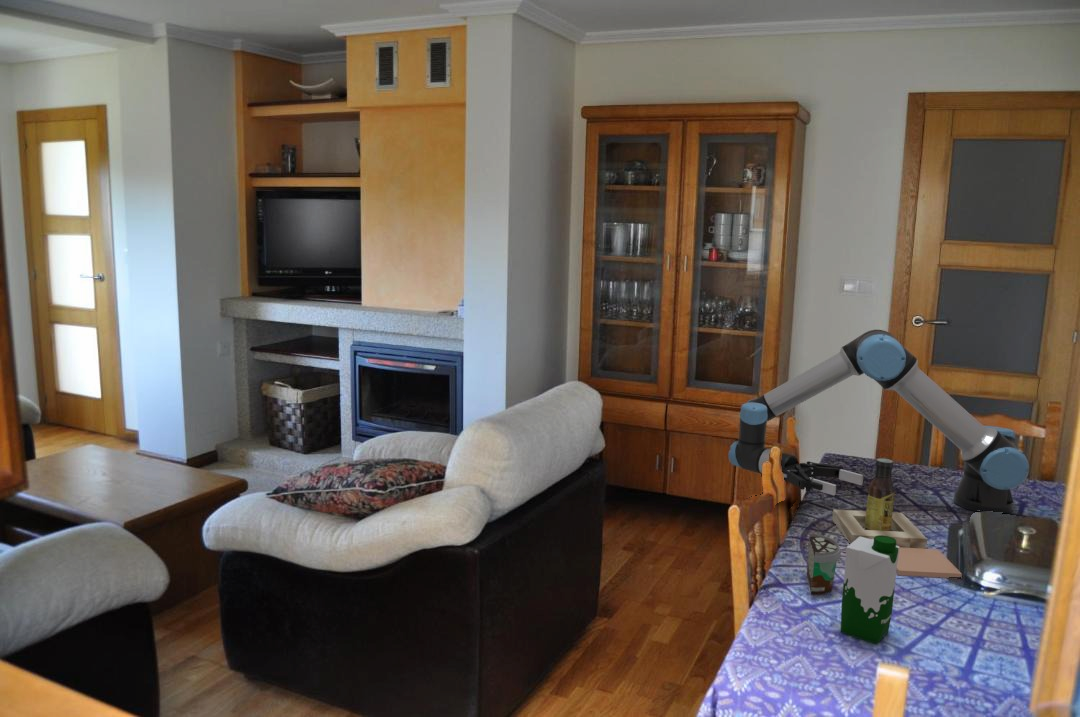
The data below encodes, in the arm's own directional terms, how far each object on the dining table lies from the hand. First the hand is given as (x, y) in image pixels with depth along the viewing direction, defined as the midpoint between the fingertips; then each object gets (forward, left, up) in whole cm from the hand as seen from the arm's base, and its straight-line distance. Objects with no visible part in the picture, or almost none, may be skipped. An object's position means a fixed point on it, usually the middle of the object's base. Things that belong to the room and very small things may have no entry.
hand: (849, 485), depth 224 cm
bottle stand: (-6, +6, -11) cm, 14 cm away
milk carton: (+13, +59, -11) cm, 62 cm away
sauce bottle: (-6, +6, -11) cm, 14 cm away
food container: (+16, +39, -11) cm, 44 cm away
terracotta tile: (-10, +24, -11) cm, 28 cm away
